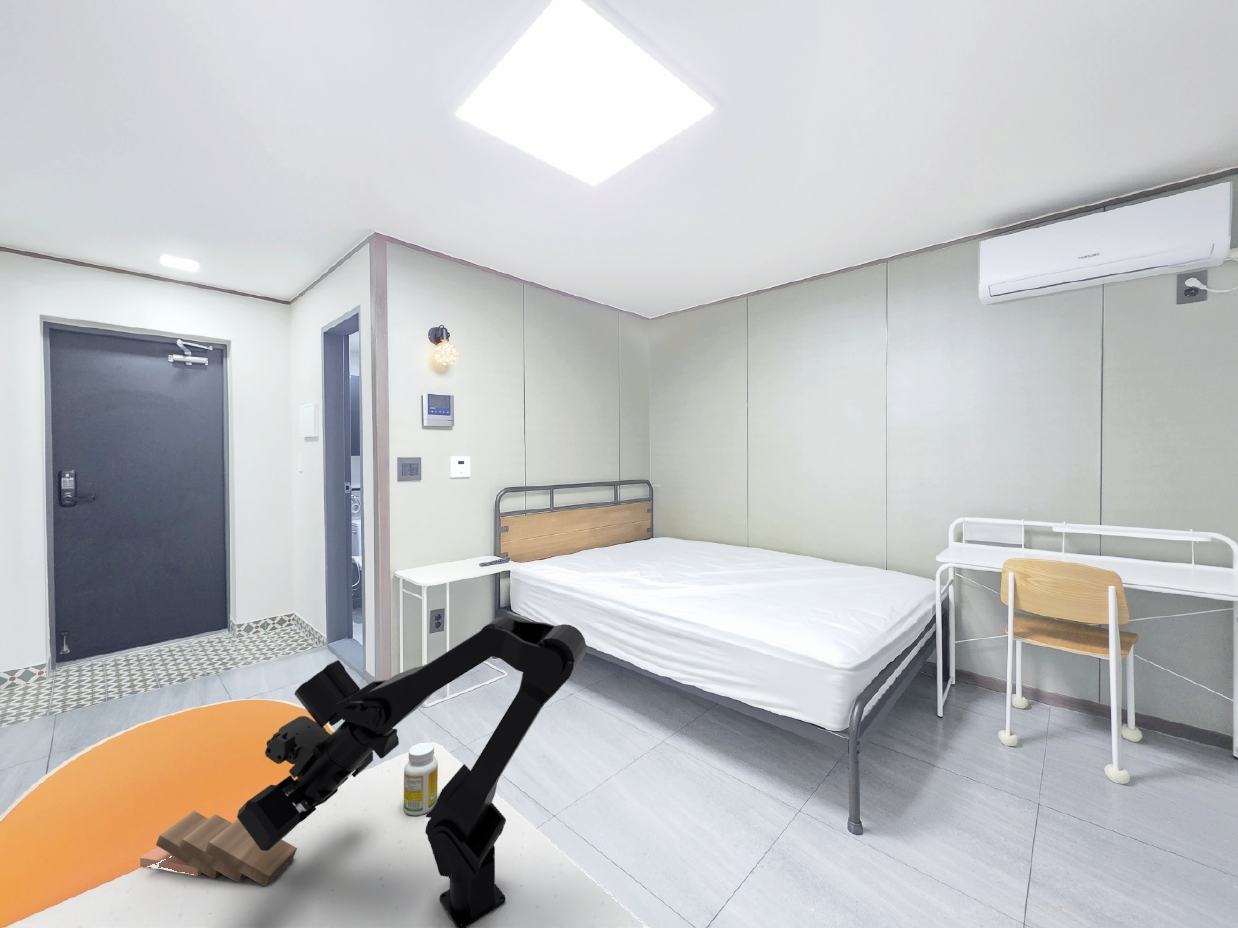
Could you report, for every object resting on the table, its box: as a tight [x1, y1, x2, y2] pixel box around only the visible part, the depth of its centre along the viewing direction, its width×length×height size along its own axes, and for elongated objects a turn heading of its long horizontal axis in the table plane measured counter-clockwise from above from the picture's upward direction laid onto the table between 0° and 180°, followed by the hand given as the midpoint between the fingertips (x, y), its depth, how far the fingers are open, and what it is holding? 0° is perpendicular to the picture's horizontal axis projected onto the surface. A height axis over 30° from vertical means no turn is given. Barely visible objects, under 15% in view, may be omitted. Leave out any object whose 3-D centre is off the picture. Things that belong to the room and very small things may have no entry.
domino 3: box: [179, 813, 247, 883], centre depth 71 cm, size 2×5×10 cm
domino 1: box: [139, 846, 202, 877], centre depth 73 cm, size 2×5×10 cm
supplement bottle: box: [403, 742, 439, 817], centre depth 84 cm, size 5×5×10 cm
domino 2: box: [155, 810, 221, 880], centre depth 72 cm, size 2×5×10 cm
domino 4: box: [205, 818, 298, 887], centre depth 71 cm, size 2×5×10 cm
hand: (277, 819), depth 71 cm, fingers closed
